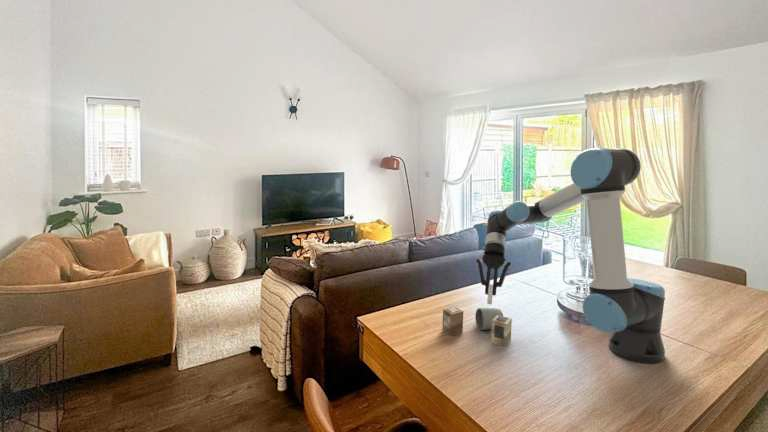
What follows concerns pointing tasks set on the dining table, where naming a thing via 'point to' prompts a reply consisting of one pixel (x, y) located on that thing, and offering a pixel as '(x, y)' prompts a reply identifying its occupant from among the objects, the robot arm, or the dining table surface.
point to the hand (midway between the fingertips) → (489, 302)
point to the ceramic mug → (486, 317)
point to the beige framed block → (501, 330)
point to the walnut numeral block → (452, 321)
